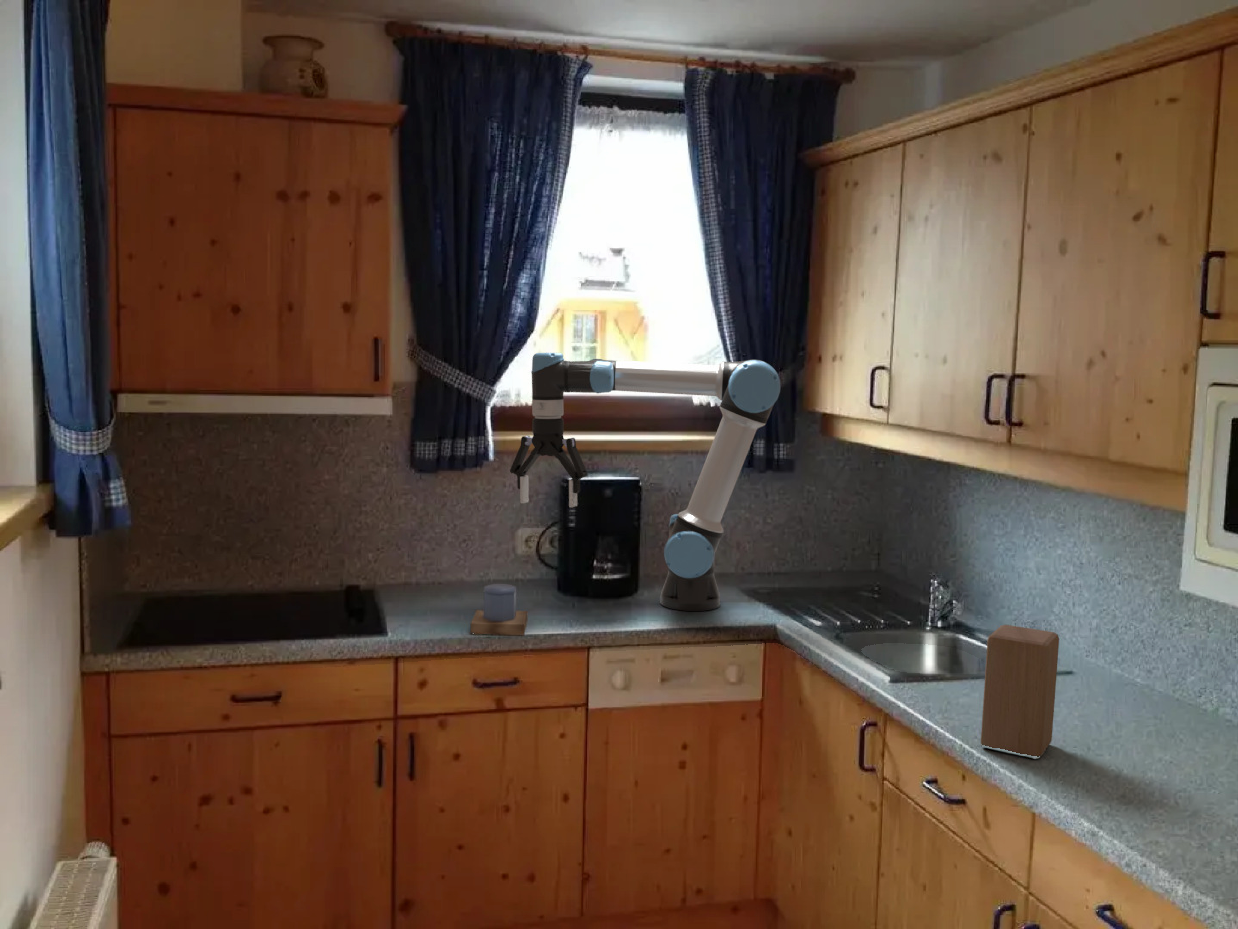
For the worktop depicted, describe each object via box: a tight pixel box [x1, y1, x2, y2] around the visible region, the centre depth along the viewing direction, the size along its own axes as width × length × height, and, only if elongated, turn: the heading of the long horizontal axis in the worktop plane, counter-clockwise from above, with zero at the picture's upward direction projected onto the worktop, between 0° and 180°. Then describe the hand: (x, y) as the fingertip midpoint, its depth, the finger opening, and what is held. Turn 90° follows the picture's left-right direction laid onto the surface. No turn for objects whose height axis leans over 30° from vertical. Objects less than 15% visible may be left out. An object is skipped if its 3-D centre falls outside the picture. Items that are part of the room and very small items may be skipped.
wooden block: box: [980, 624, 1060, 757], centre depth 195 cm, size 10×10×20 cm
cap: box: [483, 583, 517, 621], centre depth 262 cm, size 7×7×7 cm
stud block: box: [470, 609, 529, 636], centre depth 263 cm, size 12×12×8 cm
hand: (548, 504), depth 277 cm, fingers open, 13 cm apart
